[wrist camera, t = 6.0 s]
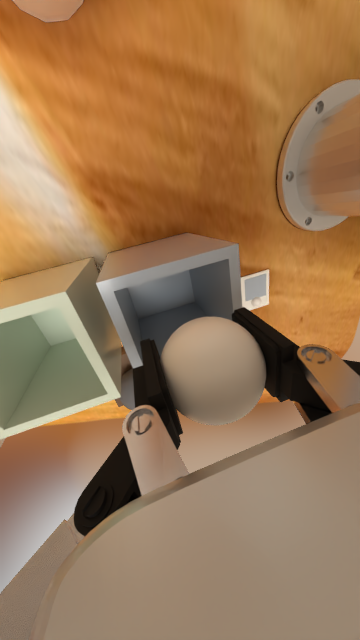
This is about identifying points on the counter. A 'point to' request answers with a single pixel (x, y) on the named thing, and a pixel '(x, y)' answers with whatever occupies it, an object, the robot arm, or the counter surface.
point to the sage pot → (55, 347)
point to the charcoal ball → (127, 390)
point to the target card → (255, 290)
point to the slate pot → (168, 287)
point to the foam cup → (49, 8)
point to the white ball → (213, 370)
